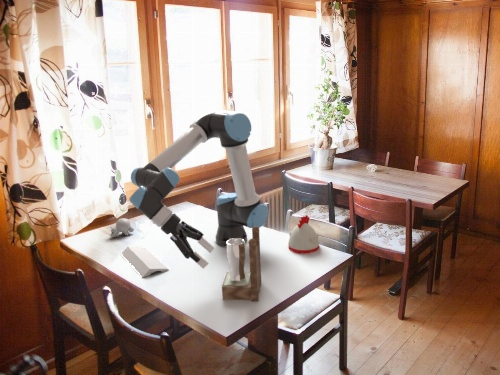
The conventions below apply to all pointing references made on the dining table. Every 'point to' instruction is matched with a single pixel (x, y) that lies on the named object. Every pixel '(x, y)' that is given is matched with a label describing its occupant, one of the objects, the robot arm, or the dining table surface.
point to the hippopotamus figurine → (121, 227)
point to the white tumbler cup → (236, 259)
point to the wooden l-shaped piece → (253, 278)
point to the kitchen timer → (303, 238)
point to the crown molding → (143, 260)
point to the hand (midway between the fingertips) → (209, 258)
